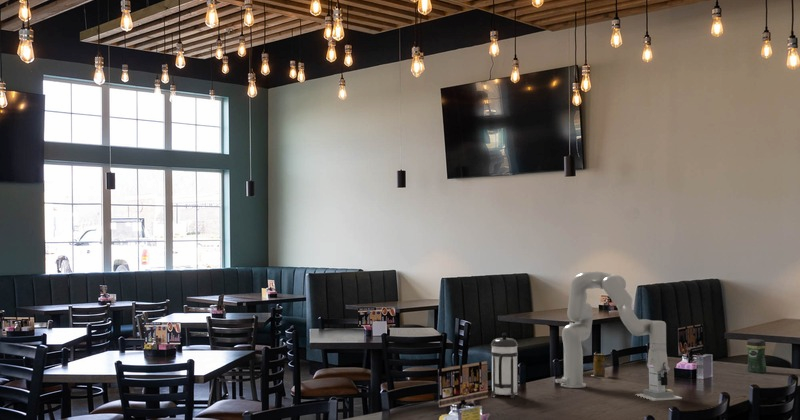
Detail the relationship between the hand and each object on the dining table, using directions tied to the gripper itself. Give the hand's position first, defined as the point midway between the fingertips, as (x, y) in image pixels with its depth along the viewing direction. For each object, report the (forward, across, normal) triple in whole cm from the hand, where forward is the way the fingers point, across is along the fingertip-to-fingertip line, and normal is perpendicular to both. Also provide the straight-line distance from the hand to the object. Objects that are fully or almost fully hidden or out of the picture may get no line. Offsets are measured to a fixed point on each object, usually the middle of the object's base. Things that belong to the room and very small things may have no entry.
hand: (658, 383), depth 388 cm
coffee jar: (+7, -48, +98) cm, 109 cm away
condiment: (+7, -61, +5) cm, 62 cm away
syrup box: (+6, 0, 0) cm, 6 cm away
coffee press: (+7, -23, -69) cm, 73 cm away
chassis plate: (+6, 0, 0) cm, 6 cm away
